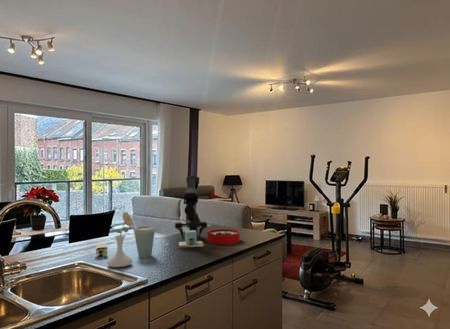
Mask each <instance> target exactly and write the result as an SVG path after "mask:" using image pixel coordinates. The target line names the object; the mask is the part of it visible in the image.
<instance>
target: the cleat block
mask: <svg viewBox="0 0 450 329" xmlns="http://www.w3.org/2000/svg"><path fill="white" fill-rule="evenodd" d="M184 233H185V238H184V240H185V241H184V242H185V243H186V245H189V238H192V240H193V244H194V245H196V244H197V240H198V237H197V232H196V231H195V230H190V231H189V230H185V232H184Z"/></svg>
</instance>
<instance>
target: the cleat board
mask: <svg viewBox="0 0 450 329" xmlns="http://www.w3.org/2000/svg"><path fill="white" fill-rule="evenodd" d="M178 245H179V246H178V247H179V248H181V249H182V248H195V247H201V248H202V247H205V244H204V243H203V241H202V240H198V241H197V244H196V245H194V244H193V238H189V245H186V243H185V241H179V242H178Z"/></svg>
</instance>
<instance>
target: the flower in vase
mask: <svg viewBox="0 0 450 329" xmlns="http://www.w3.org/2000/svg"><path fill="white" fill-rule="evenodd" d="M122 220H123V222H124V223H123V224H122V228H121V230H119V229H116V233H117V234H119V235H114V236H113V237H114V239H115V241H116V244H117V245H116V247H117V249H116V252H115V254H114V255H112V256H111V258H109V259H108V260H107V263H106V264H107V266H109V267H111V268H124V267H127V266H129V265H132V263H133V259H132V258H131V257H130V256H129V255H127V254H126V253H124V250H123V244H124V243H123V242H124V239H125V237H126V235H123V232H125V233H128V232H129V228H130V227H133V226H134V225H135V224H134V219H133V218H132V215H131V214H129V212H127V211H124V212H123V213H122ZM125 225H126V226H128V227H129V228H128V227H126V226H125Z"/></svg>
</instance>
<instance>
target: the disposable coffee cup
mask: <svg viewBox="0 0 450 329" xmlns="http://www.w3.org/2000/svg"><path fill="white" fill-rule="evenodd" d="M155 232H156V230H155V228H154V227H153V226H151V225H140V226H136V227H134V230H133V233H134V237H135V238H134V239H135V243H136V249H137V254H138V258H149V257H151V256H152V253H153V246H154V238H155Z"/></svg>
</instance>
